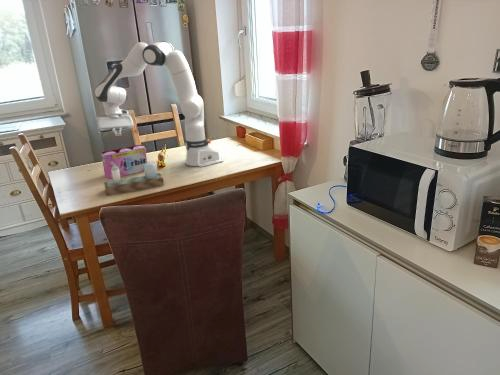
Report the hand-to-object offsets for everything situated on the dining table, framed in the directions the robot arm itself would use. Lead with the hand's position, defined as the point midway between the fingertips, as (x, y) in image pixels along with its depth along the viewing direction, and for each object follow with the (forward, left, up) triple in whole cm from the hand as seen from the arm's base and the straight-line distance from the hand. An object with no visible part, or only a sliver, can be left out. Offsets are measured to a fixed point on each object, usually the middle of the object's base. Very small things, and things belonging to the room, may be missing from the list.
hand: (118, 135), depth 234 cm
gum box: (0, +20, -17) cm, 27 cm away
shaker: (+8, +45, -12) cm, 48 cm away
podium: (0, +45, -17) cm, 48 cm away
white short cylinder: (-9, +45, -12) cm, 48 cm away
